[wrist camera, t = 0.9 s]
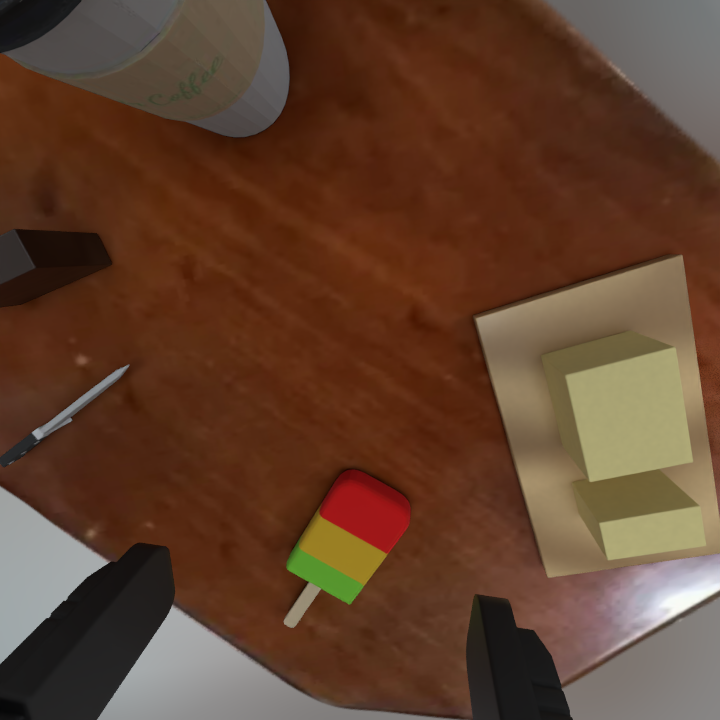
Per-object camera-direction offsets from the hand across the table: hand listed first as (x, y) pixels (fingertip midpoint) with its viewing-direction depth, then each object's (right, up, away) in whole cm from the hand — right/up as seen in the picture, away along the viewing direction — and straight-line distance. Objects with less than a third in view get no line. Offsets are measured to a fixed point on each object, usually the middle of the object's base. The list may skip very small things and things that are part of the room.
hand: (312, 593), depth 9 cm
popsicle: (-1, -8, +18) cm, 20 cm away
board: (+15, +2, +12) cm, 20 cm away
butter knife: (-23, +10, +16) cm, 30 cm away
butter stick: (+14, +4, +11) cm, 18 cm away
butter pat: (+16, -2, +12) cm, 20 cm away
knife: (-19, +2, +17) cm, 26 cm away
